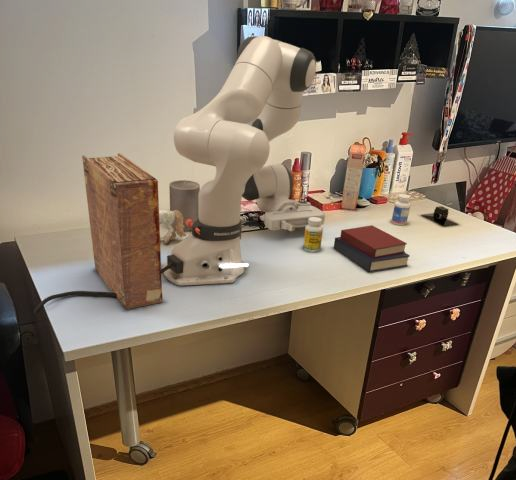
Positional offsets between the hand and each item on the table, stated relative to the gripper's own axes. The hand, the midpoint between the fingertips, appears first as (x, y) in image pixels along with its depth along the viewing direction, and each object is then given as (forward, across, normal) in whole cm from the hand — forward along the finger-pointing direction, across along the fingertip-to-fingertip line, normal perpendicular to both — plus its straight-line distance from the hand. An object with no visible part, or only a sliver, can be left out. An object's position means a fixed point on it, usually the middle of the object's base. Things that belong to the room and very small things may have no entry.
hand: (306, 227), depth 166 cm
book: (+11, -59, +6) cm, 60 cm away
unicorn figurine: (-13, -45, +6) cm, 47 cm away
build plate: (-5, +60, +5) cm, 61 cm away
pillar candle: (-26, -31, +6) cm, 40 cm away
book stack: (+15, +14, +5) cm, 22 cm away
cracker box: (-30, +37, +5) cm, 48 cm away
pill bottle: (-8, +43, +6) cm, 44 cm away
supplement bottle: (+4, 0, +6) cm, 7 cm away
